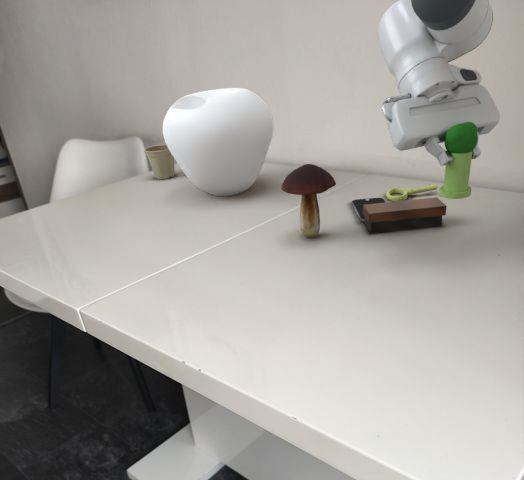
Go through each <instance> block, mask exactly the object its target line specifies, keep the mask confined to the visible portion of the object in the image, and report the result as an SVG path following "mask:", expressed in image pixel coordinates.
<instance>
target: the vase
mask: <svg viewBox="0 0 524 480" xmlns="http://www.w3.org/2000/svg"><path fill="white" fill-rule="evenodd" d="M273 134H274V118H273V114H272V112H271V110H270V108H269V106H268V104H267V103H266V102H265V101H264V100H263V99H262V98H261V97H260V96H259V95H258V94H257V93H255V92H254V91H252V90H250V89H248V88H244V87H228V88H227V87H226V88H217V89H216V88H215V89H209V90H202V91H197V92H192V93H190V94H186V95H184V96H181V97H180V98H178V99H177V100H176V101H175V102H173V104H171V106H170V108H168V110H167V112H166V114H165V116H164V118H163V123H162V136H163V140H164V142H165V144H166V145H167V147H168V149H169V150H170V152H171V154H172V155H173V157H174V161H175V162H176V163H177V164H178V165H177V166H179V168H180V169H181V171H182V172H183V173H184V175H185V176H186V178H187V179H188V181H190V183H192V184H193V186H194V187H195V188H196V189H199V190H201V192H205V193H207V194H210V195H213V196H216V197H232V196H235V195H239V194H242V193H243V192H245V191H247V190H248V189H250V187H251V186H252V185H254V183H256V180H257V179H258V177H259V175H260V172H261V171H262V168H263V166H264V163H265V160H266V158H267V154H268V151H269V148H270V145H271V142H272V138H273V136H274V135H273Z"/></svg>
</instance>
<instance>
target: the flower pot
mask: <svg viewBox="0 0 524 480" xmlns="http://www.w3.org/2000/svg"><path fill="white" fill-rule="evenodd" d="M143 152H144V153H145V154H146V157H147V159H148V161H149V164H150V168H151V170H152V173H153V176H154V179H157V180H166V179H170V178H171V177H172V178H173V177H175V175H176V172H175V158H174V157H173V155H172V154H171V152H170V150H169V149H168V147H167V145H166V143H164V144H163V143H162V144H156V145H152V146H148V147H145V148H144V149H143Z"/></svg>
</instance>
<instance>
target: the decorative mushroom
mask: <svg viewBox="0 0 524 480" xmlns="http://www.w3.org/2000/svg"><path fill="white" fill-rule="evenodd" d="M335 186H337V182H336V179H334V177H333V175H332V174H331V173H330V172H329V171H327V170H326V169H324V168H322V167H320V166H318V165H315V164H313V163H306V164H303V165H301V166H298V167H297V168H295V169H294V170H292V171H291V172H290V173H288V174H287V175H286V176H285V177H284V180H283V182H282V184H281V187H280V189H281V191H282V192H284V193H286V194H289V195H295V196H301V198H300V206H299V230H300V232H301V235H302V236H304V237H306V238H310V239H312V238H315V237H316V236H317V235H319V233H320V231H321V217H320V206H319V202H318V201H319V200H318V196H317V195H319V194H323V193H325V192H327V191H328V190H330V189H331V188H333V187H335Z"/></svg>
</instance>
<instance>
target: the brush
mask: <svg viewBox="0 0 524 480" xmlns="http://www.w3.org/2000/svg"><path fill="white" fill-rule="evenodd" d="M447 206H448V205H446V204H445V203H444V202H443V201H442V200H441V199H439V198H438V196H435V197H426V198H417V199H406V200H404V201H385V203H375V204H365V205H363V215H364V216H365V223H364V225H365V227H366V228H367V230H368V231H369V233H370V234H376V233H385V232H394V231H405V230H415V229H426V228H436V227H442V225H443V216H446V215H447V208H448V207H447Z"/></svg>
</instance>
